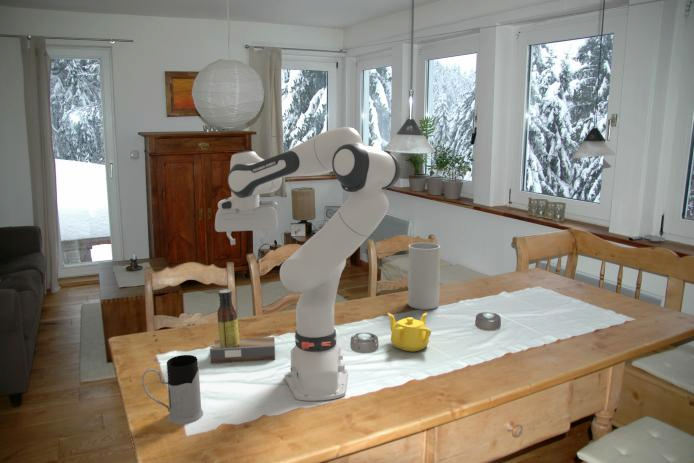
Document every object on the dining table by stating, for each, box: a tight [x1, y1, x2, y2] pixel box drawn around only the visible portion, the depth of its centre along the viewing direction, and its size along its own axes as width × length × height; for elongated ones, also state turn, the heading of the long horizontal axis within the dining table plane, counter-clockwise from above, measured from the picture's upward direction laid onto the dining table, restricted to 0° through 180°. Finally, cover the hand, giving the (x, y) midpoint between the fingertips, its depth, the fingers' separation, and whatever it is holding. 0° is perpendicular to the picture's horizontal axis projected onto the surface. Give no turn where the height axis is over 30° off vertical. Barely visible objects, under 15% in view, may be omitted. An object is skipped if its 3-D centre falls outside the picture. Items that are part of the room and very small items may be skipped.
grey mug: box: [141, 354, 204, 425], centre depth 143 cm, size 9×14×15 cm, turn 106°
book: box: [210, 336, 276, 365], centre depth 186 cm, size 16×20×2 cm
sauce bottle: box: [217, 289, 240, 348], centre depth 182 cm, size 6×6×20 cm
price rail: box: [209, 345, 276, 360], centre depth 178 cm, size 2×20×3 cm, turn 98°
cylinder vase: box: [407, 242, 441, 311], centre depth 229 cm, size 12×12×25 cm
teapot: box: [387, 312, 432, 352], centre depth 189 cm, size 14×13×10 cm
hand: (247, 243), depth 184 cm, fingers open, 8 cm apart
